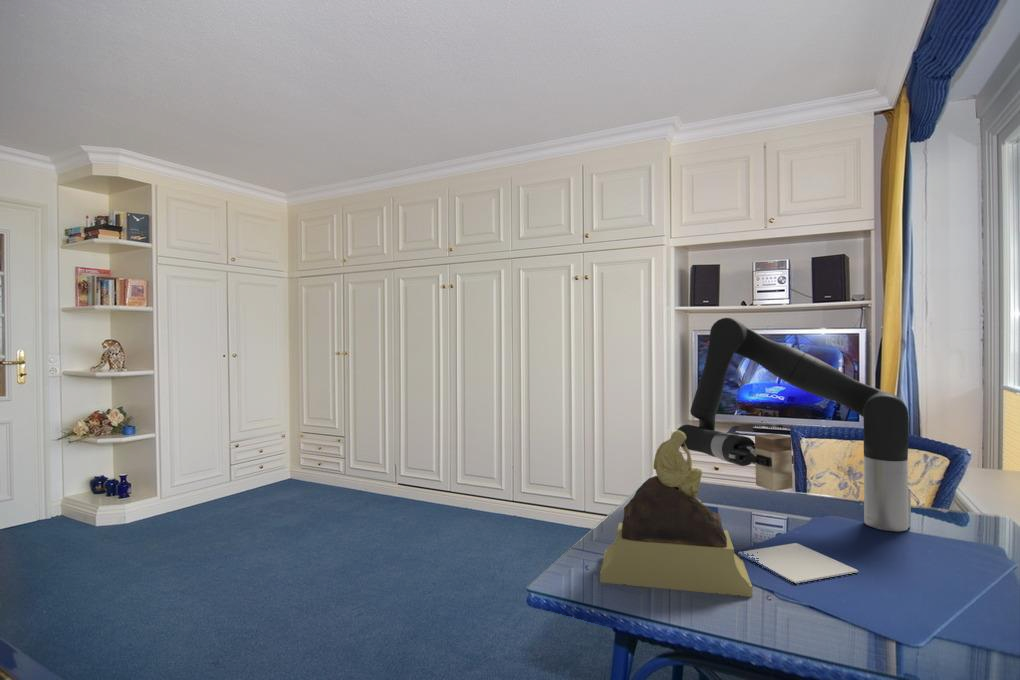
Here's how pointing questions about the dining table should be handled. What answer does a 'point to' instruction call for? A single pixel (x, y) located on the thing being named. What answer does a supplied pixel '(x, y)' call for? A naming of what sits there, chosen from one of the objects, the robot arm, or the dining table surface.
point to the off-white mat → (799, 563)
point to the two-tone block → (774, 462)
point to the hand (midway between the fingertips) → (781, 461)
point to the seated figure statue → (674, 534)
